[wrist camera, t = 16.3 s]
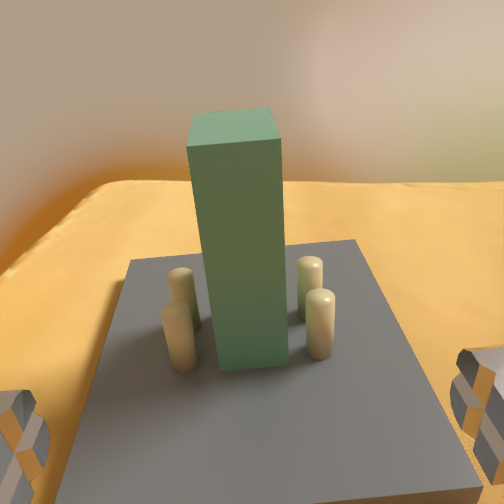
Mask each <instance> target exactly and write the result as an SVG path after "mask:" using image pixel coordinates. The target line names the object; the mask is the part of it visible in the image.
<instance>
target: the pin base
mask: <svg viewBox="0 0 504 504" xmlns="http://www.w3.org/2000/svg"><path fill="white" fill-rule="evenodd" d="M285 266H286V294H287V323H288V351H289V365H287V366H276V367H265V368H254V369H243V370H232V371H221V372H220V369H219V362H218V355H217V349H216V342H215V335H214V329H213V322H212V315H211V308H210V302H209V295H208V288H207V282H206V275H205V268H204V262H203V255H202V253H200V254H189V255H178V256H167V257H156V258H145V259H135V260H131V261H130V264H129V267H128V271H127V274H126V277H125V280H124V283H123V287H122V290H121V293H120V296H119V299H118V302H117V306H116V309H115V312H114V315H113V318H112V321H111V325H110V328H109V331H108V334H107V337H106V341H105V344H104V347H103V350H102V353H101V356H100V360H99V363H98V366H97V369H96V372H95V375H94V379H93V382H92V385H91V388H90V391H89V395H88V398H87V401H86V404H85V407H84V410H83V414H82V417H81V420H80V423H79V426H78V429H77V433H76V436H75V439H74V442H73V445H72V449H71V452H70V455H69V458H68V461H67V464H66V468H65V471H64V474H63V477H62V480H61V483H60V487H59V490H58V493H57V496H56V499H55V502H54V504H477V503H478V500H479V497H480V494H481V492H482V489H483V484H482V482H481V481H480V479H479V477H478V475H477V473H476V471H475V469H474V467H473V465H472V463H471V461H470V459H469V458H468V456H467V454H466V452H465V450H464V448H463V446H462V444H461V442H460V440H459V438H458V436H457V435H456V433H455V431H454V429H453V427H452V425H451V423H450V421H449V419H448V417H447V415H446V413H445V412H444V410H443V408H442V406H441V404H440V402H439V400H438V398H437V396H436V394H435V392H434V390H433V389H432V387H431V385H430V383H429V381H428V379H427V377H426V375H425V373H424V371H423V369H422V367H421V366H420V364H419V362H418V360H417V358H416V356H415V354H414V352H413V350H412V348H411V346H410V344H409V343H408V341H407V339H406V337H405V335H404V333H403V331H402V329H401V327H400V325H399V323H398V321H397V320H396V318H395V316H394V314H393V312H392V310H391V308H390V306H389V304H388V302H387V300H386V298H385V297H384V295H383V293H382V291H381V289H380V287H379V285H378V283H377V281H376V279H375V277H374V275H373V274H372V272H371V270H370V268H369V266H368V264H367V262H366V260H365V258H364V256H363V254H362V252H361V251H360V249H359V247H358V245H357V243H356V241H355V239H353V240H342V241H331V242H320V243H309V244H298V245H287V246H285Z"/></svg>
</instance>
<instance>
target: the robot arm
mask: <svg viewBox="0 0 504 504" xmlns="http://www.w3.org/2000/svg"><path fill="white" fill-rule="evenodd" d="M456 364H457V366H458V368H459V369H460V371H461V373H460V374H459V375H457V376H456V377H455V378H454V379H453V380H452V384H451V389H450V398H451V406H452V410H453V413H454V415H455V418H456V420H457V422H458V424H459V426H460V428H461V430H462V431H464V432H465V433H467V434H468V435H470V436H471V437H472V438H474V439H475V444H474V448H473V452H474V454H475V456H476V458H477V460H478V461H479V463H480V465H481V467H482V469H483V471H484V472H485V474H486V476H487V478H488V480H489V482H490V483H491V485H500V484H504V345H495V346H485V347H475V348H466V349H463V350H462V351H461V352H460V353H459V355H458V359H457V363H456ZM35 405H36V401H35V399H34V397H33V395H32V393H31V392H30V391H29V390H13V391H0V504H31V501H32V498H33V495H34V491H33V489H32V486H31V483H30V482H31V481H32V480H33V479H34V478H35V477H36V476H37V475H38V474H39V473H40V472H41V471H42V470H43V468H44V465H45V462H46V459H47V456H48V449H49V440H50V438H49V432H48V427H47V424H46V422H45V420H44V418H42V417H41V416H39V415H37V414H36V413H34V412H33V409H34V407H35Z"/></svg>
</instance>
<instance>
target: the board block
mask: <svg viewBox="0 0 504 504" xmlns="http://www.w3.org/2000/svg"><path fill="white" fill-rule="evenodd" d="M186 148H187V155H188V161H189V168H190V174H191V181H192V188H193V195H194V202H195V208H196V215H197V222H198V228H199V235H200V242H201V248H202V255H203V262H204V268H205V275H206V282H207V288H208V295H209V302H210V308H211V315H212V322H213V329H214V335H215V342H216V349H217V355H218V362H219V369H220V372H221V371H232V370H243V369H254V368H265V367H276V366H287V365H289V351H288V323H287V294H286V266H285V238H284V210H283V182H282V155H281V137H280V134H279V132H278V129H277V126H276V124H275V121H274V118H273V115H272V113H271V110H270V108H258V109H245V110H233V111H222V112H210V113H198V114H193V118H192V123H191V127H190V132H189V136H188V141H187V145H186Z"/></svg>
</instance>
